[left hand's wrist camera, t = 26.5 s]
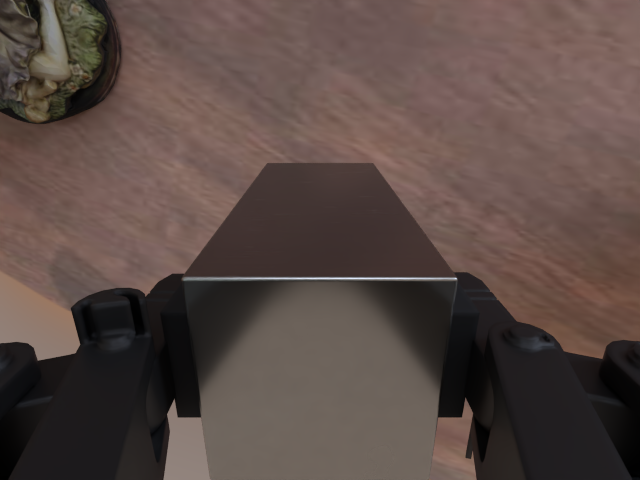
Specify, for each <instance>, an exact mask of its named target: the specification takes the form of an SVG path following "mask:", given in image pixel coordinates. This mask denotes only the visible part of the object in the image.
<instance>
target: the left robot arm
mask: <svg viewBox="0 0 640 480" xmlns="http://www.w3.org/2000/svg"><path fill="white" fill-rule="evenodd" d="M454 274H455V275H456V276H457V279H458V282H457V289H456V296H455V303H454V310H453V317H452V324H451V331H450V338H449V344H448V351H447V358H446V365H445V372H444V379H443V386H442V393H441V400H440V407H439V414H438V417H462V414H463V408H464V402H465V397H466V399H467V401H468V403H469V405H470V407H471V409H472V412H473V418H472V423H471V428H470V434H469V439H468V445H467V450H466V458H469V459H471V456H472V451H473V455H474V463H475V470H476V477H477V480H640V342H639V341H627V340H621V341H613V342H611V343H610V344H609V345H607V347H606V350H605V353H604V356H603V359H599V358H594V357H589V356H583V355H578V354H573V353H568V352H564V351H563V349H562V347H561V346H560V344H559V343H558V342H557V340H556V339H555V338H554V337H553V336H552V335H550V334H549V333H547V332H546V331H544V330H542V329H540V328H537V327H535V326H532V325H530V324H526V323H521V322H517V321H516V320H515V319H514V318H513V317H512V315H511V314H510V313H509V312H508V311H507V310H506V308H505V307H504V306H503V305H502V304H501V303H500V301H499V300H497V298H496V297H495V296H494V294H493V293H492V292H490V290H489V289H488V287H487V286H486V285H485V284H484V283H483V282H482V281H481V280H480V279H478V278H476V277H474V276H473V275H471V274H469V273H468V272H454ZM183 275H184V274H171V275H170V276H168V277H166V278H164V279H163V280H161V281H159V282H158V283H157V284H156V285H155V287H154V288H153V289H152V290H151V291H150V293H149V294H148V295H147V296H146V297H145V294H144V293H143V292H141V291H140V290H138V289H133V288H115V289H109V290H104V291H100V292H97V293H94V294H91V295H89V296H87V297H85V298H83V299H81V300H80V301H78V302H77V303H76V304H75V305H74V306H73V307H71V311H72V315H73V318H74V322H75V326H76V330H77V333H78V337H79V341H80V346H79V348H78V350H77V352H76V353H75V354H71V355H66V356H61V357H56V358H51V359H45V360H40V361H38V360H37V357H36V354H35V351H34V348H33V347H32V346H30V345H29V344H27V343H20V342H12V343H1V344H0V480H163V478H164V471H165V464H166V456H167V449H168V441H169V434H170V430H169V423H168V418H167V413H168V411H169V409H170V407H171V405H172V403H173V400H174V398H175V403H176V409H177V415H178V417H201V412H200V405H199V398H198V391H197V384H196V377H195V370H194V363H193V356H192V349H191V342H190V336H189V329H188V322H187V315H186V308H185V301H184V294H183V287H182V280H181V279H182V277H183Z"/></svg>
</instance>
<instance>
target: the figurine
mask: <svg viewBox="0 0 640 480" xmlns="http://www.w3.org/2000/svg"><path fill="white" fill-rule="evenodd" d="M120 56H121V51H120V39H119V33H118V29H117V25H116V21H115V19H114V17H113V15H112V13H111V11H110V9H109V7H108V5H107V3H106V1H105V0H0V112H2V113H4V114H6V115H8V116H10V117H12V118H15V119H17V120H20V121H24V122H28V123H35V124H44V123H50V122H54V121H58V120H62V119H64V118H67V117H70V116H73V115H75V114H78V113H80V112H82V111H84V110H87V109H89V108H91V107H93V106H95V105H96V104H98V103H99V102H101V101H102V100H103V99H104V98H105V97H106V96H107V95H108V93H109V92H110V90H111V88H112V87H113V85H114V82H115V78H116V75H117V72H118V69H119V65H120Z"/></svg>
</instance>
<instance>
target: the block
mask: <svg viewBox="0 0 640 480" xmlns="http://www.w3.org/2000/svg"><path fill="white" fill-rule="evenodd" d="M181 280H182V287H183V294H184V301H185V308H186V315H187V322H188V329H189V336H190V342H191V349H192V356H193V363H194V370H195V377H196V384H197V391H198V398H199V405H200V412H201V419H202V426H203V433H204V440H205V447H206V454H207V461H208V468H209V475H210V479H211V480H429V477H430V470H431V463H432V456H433V449H434V442H435V435H436V428H437V421H438V414H439V407H440V400H441V393H442V386H443V379H444V372H445V365H446V358H447V351H448V344H449V338H450V331H451V324H452V317H453V310H454V303H455V296H456V289H457V282H458V279H457V276H456V275H455V274H454V272H453V271H452V270H451V268H450V267H449V266H448V264H447V263H446V261H445V260H444V259H443V257H442V256H441V255H440V253H439V252H438V251H437V249H436V248H435V247H434V245H433V244H432V242H431V241H430V240H429V238H428V237H427V236H426V234H425V233H424V232H423V230H422V229H421V228H420V226H419V225H418V223H417V222H416V221H415V219H414V218H413V217H412V215H411V214H410V213H409V211H408V210H407V208H406V207H405V206H404V204H403V203H402V202H401V200H400V199H399V198H398V196H397V195H396V194H395V192H394V191H393V189H392V188H391V187H390V185H389V184H388V183H387V181H386V180H385V179H384V177H383V176H382V174H381V173H380V172H379V170H378V169H377V168H376V166H375V165H374V164H373V163H267V164H266V165H265V167H264V168H263V169H262V171H261V172H260V173H259V175H258V176H257V177H256V179H255V180H254V181H253V183H252V184H251V185H250V187H249V188H248V189H247V191H246V192H245V193H244V195H243V196H242V198H241V199H240V200H239V202H238V203H237V204H236V206H235V207H234V208H233V210H232V211H231V212H230V214H229V215H228V216H227V218H226V219H225V220H224V222H223V223H222V224H221V226H220V227H219V228H218V230H217V231H216V232H215V234H214V235H213V236H212V238H211V239H210V240H209V242H208V243H207V244H206V246H205V247H204V248H203V250H202V251H201V252H200V254H199V255H198V256H197V258H196V259H195V260H194V262H193V263H192V264H191V266H190V267H189V268H188V270H187V271H186V273H185V274H184V275H183V277H182V279H181Z"/></svg>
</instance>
